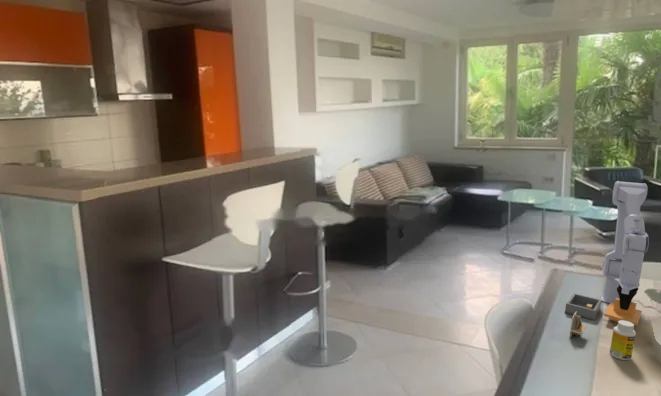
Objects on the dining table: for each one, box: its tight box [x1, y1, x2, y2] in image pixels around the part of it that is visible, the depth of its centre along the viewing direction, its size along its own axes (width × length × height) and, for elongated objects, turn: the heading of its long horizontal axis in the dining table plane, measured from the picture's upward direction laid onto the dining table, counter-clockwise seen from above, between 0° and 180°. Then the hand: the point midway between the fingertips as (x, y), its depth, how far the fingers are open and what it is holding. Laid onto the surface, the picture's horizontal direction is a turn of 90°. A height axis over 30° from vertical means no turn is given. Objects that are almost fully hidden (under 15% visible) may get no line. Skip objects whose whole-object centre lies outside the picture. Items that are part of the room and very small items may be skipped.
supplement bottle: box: [609, 320, 637, 361], centre depth 143 cm, size 6×6×10 cm
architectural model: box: [568, 311, 587, 339], centre depth 154 cm, size 3×7×7 cm, turn 144°
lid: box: [603, 298, 643, 326], centre depth 166 cm, size 12×9×6 cm
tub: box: [564, 292, 603, 322], centre depth 174 cm, size 12×9×4 cm
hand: (624, 308), depth 166 cm, fingers closed on lid
